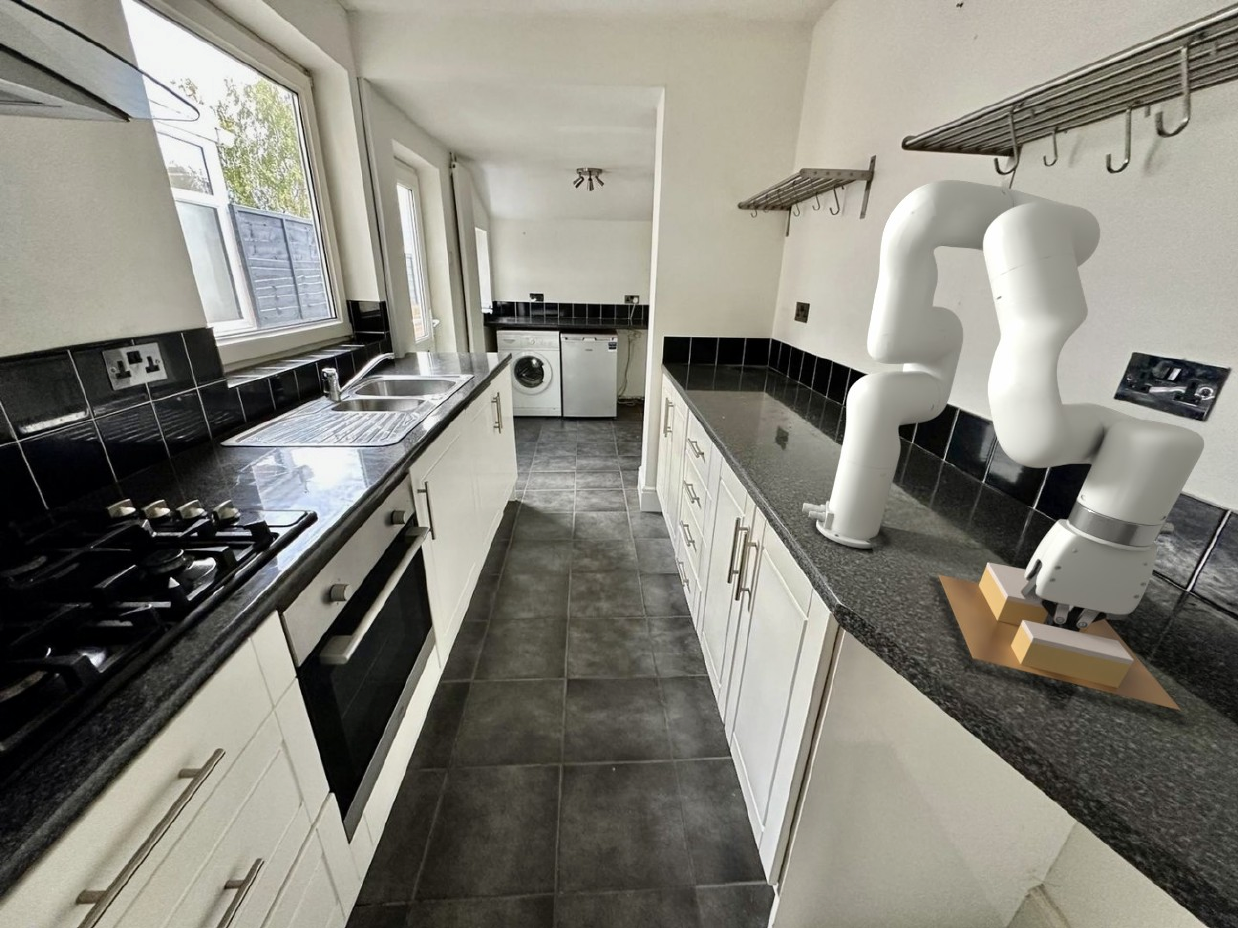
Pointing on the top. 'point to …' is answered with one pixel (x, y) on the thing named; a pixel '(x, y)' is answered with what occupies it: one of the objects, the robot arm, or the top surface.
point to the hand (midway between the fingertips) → (1053, 643)
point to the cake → (1010, 595)
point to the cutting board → (994, 646)
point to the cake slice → (1071, 653)
